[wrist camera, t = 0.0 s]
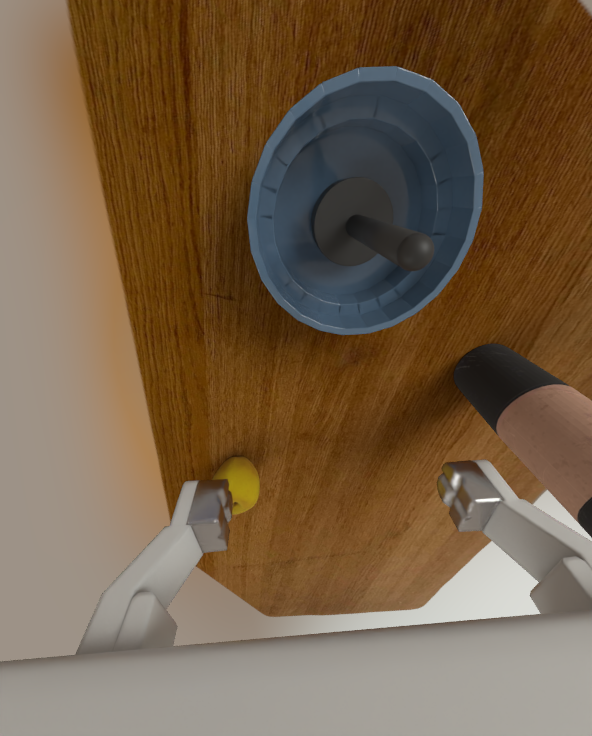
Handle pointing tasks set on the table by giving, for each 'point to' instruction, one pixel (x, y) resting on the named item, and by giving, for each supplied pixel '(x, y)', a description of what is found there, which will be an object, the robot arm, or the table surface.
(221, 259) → the table surface
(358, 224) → the joystick
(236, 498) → the yellow fruit
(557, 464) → the travel mug
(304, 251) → the bowl
